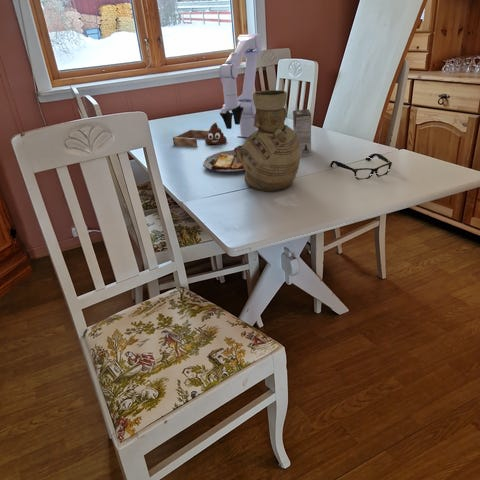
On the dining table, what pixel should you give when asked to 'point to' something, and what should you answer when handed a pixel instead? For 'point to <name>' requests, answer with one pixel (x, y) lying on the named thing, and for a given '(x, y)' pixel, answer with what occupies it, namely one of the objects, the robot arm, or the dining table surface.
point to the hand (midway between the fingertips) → (233, 126)
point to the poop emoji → (215, 136)
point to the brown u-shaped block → (189, 137)
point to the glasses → (365, 168)
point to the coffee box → (303, 130)
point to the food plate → (223, 162)
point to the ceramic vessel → (270, 145)
